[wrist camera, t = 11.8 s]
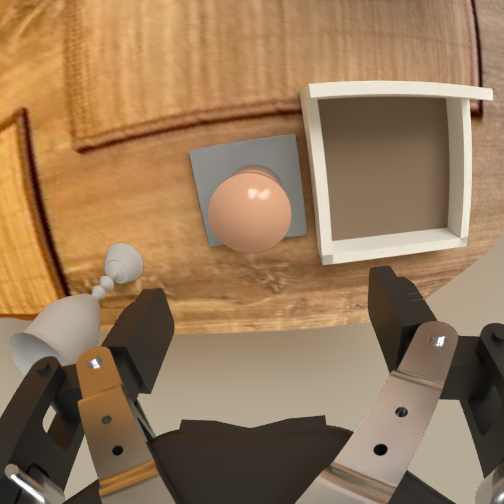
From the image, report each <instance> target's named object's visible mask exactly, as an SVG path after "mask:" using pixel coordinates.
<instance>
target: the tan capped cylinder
mask: <svg viewBox="0 0 504 504" xmlns="http://www.w3.org/2000/svg"><path fill="white" fill-rule="evenodd" d="M208 219H209V223H210V227H211V229H212V231H213V233H214V234H215V236H216V237H217V238H218V239H219V240H220V241H221V242H222V243H223V244H224V245H225V246H227V247H229V248H230V249H232V250H235V251H238V252H242V253H259V252H263V251H266V250H268V249H271V248H272V247H274V246H275V245H277V244H278V243H279V242H280V241H281V240H282V239H283V237H284V236H285V235H286V233H287V231H288V229H289V226H290V222H291V207H290V202H289V199H288V196H287V194H286V192H285V191H284V189H283V188H282V184H281V182H280V180H279V178H278V177H277V175H276V174H275V173H274V172H273V171H271V170H270V169H268V168H266V167H264V166H260V165H248V166H245V167H242V168H240V169H238V170H237V171H236V172H235V173H233V175H232V176H231V177H229V178H227V179H226V180H224V181H223V182H222V183H221V184H220V185H219V187H218V188H217V189H216V190H215V192H214V194H213V195H212V197H211V200H210V203H209V207H208Z"/></svg>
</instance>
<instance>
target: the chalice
mask: <svg viewBox="0 0 504 504" xmlns="http://www.w3.org/2000/svg"><path fill="white" fill-rule="evenodd" d="M104 268H105V272H106V274H107V276H102V277H101V278H100V285H99V286H94V287H93V289H92V294H91V295H89V294H85V293H83V294H79V295H74V296H69V297H65V298H62V299H60V300H57V301H55V302H53V303H50V304H49V305H48V306H46V307H45V308H44V309H43V310H42V312H41V313H40V314H39V315H38V316H37V317H36V318H35V319H34V320H33V321H32V323H31V324H30V325H29V326H28V327H27V328H26V329H25V330H24V331H21V332H17V333H14V334H13V336H11V338H10V342H9V347H10V353H11V355H12V357H13V359H14V362H15V363H16V364H17V366H18V368H19V369H20V370H21V372H22V373H23V374H24V375H25V376H26V375H27V373H28V371H29V370H30V368H31V367H32V365H33V364H34V363H35V362H37V361H38V360H39V359H41V358H43V357H47V356H54V357H56V358H57V359H58V361H59V362H60V364H61V366H67V365H72V364H76V363H77V360H78V358H79V357H80V356H81V355H82V354H83V353H84V352H85V351H87V350H89V349H91V348H94V347H97V342H98V336H99V331H100V310H101V309H100V305H99V303H98V300H100V299H104V298H105V296H106V294H105V292H106V290H112V289H113V287H114V283H113V281H114V282H116V283H120V284H124V283H127V282H131V281H134V280H136V279H138V278H139V277H140V276H141V274H142V272H143V268H144V266H143V260H142V258H141V255H140V254H139V253H138V251H137V250H136V249H135V248H133V247H132V246H131V245H128V244H126V243H116V244H113V245H112V246H111V247H109V249H108V251H107V253H106V258H105V264H104Z"/></svg>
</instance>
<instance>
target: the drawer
mask: <svg viewBox="0 0 504 504" xmlns="http://www.w3.org/2000/svg"><path fill="white" fill-rule="evenodd" d="M299 94H300V101H301V107H302V114H303V121H304V128H305V136H306V143H307V151H308V159H309V167H310V176H311V185H312V194H313V204H314V214H315V225H316V236H317V248H318V251H319V255H320V258H321V261H322V265H329V264H337V263H345V262H353V261H361V260H369V259H376V258H384V257H391V256H399V255H406V254H414V253H421V252H428V251H435V250H442V249H449V248H456V247H463V246H467V239H468V229H469V219H470V205H471V186H472V138H471V118H470V106H469V99H476V100H493V92H492V89H488V88H481V87H474V86H466V85H456V84H446V83H433V82H414V81H347V82H328V83H315V84H308V85H307V86H306V87H304V88H303V89H302V90H300V91H299Z"/></svg>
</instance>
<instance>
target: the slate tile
mask: <svg viewBox="0 0 504 504" xmlns="http://www.w3.org/2000/svg"><path fill="white" fill-rule="evenodd" d="M189 154H190V159H191V164H192V169H193V174H194V178H195V183H196V188H197V193H198V197H199V202H200V207H201V211H202V216H203V220H204V225H205V229H206V234H207V238H208V243H209V247H212V246H220V245H224V244H223V243H222V242H221V241H220V240H219V239H218V238H217V237H216V236H215V234H214V233H213V231H212V229H211V227H210V223H209V219H208V207H209V203H210V200H211V197H212V195H213V194H214V192H215V190H216V189H217V188H218V187H219V185H220V184H221V183H222V182H223V181H224V180H226V179H227V178H229V177H231V176H232V175H233V173H235V172H236V171H237V170H238V169H240V168H242V167H245V166H248V165H260V166H264V167H266V168H268V169H270V170H271V171H273V172H274V173H275V174H276V175H277V177H278V178H279V180H280V182H281V184H282V188H283V189H284V191H285V192H286V194H287V196H288V199H289V202H290V207H291V222H290V226H289V229H288V231H287V233H286V235H285V236H284V237H283V238H285V237H293V236H302V235H307V226H306V217H305V207H304V198H303V190H302V181H301V173H300V165H299V157H298V150H297V142H296V135H295V133H293V134H285V135H277V136H269V137H262V138H255V139H248V140H242V141H236V142H230V143H224V144H218V145H212V146H207V147H202V148H197V149H192V150H189Z"/></svg>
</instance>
